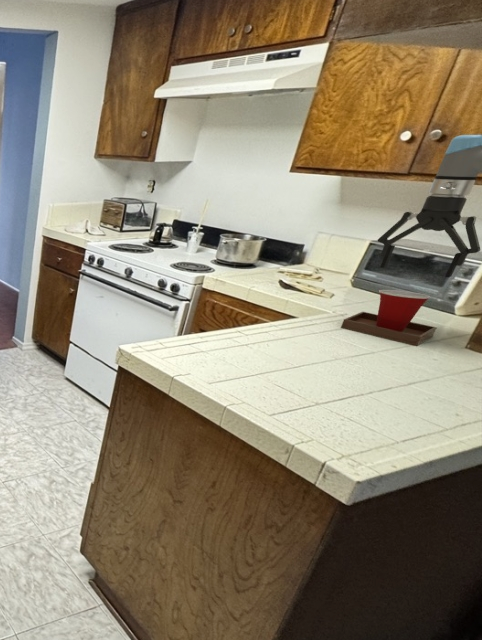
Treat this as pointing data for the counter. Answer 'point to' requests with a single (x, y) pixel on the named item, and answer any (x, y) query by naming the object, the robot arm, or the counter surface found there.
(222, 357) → the counter surface
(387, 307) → the plastic cup
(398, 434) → the counter surface
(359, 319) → the tray
